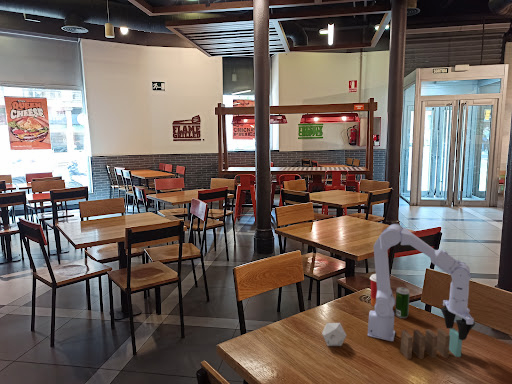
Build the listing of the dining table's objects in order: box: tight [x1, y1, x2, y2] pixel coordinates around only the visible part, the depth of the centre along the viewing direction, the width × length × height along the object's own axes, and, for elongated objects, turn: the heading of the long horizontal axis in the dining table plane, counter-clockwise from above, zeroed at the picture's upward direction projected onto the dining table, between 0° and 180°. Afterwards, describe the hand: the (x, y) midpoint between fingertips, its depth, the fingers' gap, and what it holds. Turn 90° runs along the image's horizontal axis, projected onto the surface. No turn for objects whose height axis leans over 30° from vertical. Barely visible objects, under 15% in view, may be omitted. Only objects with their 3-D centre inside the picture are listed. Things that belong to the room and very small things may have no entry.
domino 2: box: [412, 329, 425, 359], centre depth 129 cm, size 2×5×8 cm, turn 4°
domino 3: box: [424, 328, 438, 359], centre depth 129 cm, size 2×5×8 cm, turn 4°
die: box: [321, 322, 347, 347], centre depth 136 cm, size 8×9×10 cm
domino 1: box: [400, 329, 413, 360], centre depth 129 cm, size 2×5×8 cm, turn 3°
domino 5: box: [448, 327, 463, 358], centre depth 130 cm, size 2×5×8 cm, turn 4°
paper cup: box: [369, 273, 377, 308], centre depth 167 cm, size 8×8×14 cm
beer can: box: [394, 286, 410, 319], centre depth 157 cm, size 5×5×12 cm
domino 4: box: [436, 328, 450, 358], centre depth 129 cm, size 2×5×8 cm, turn 4°
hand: (455, 333), depth 129 cm, fingers open, 7 cm apart
